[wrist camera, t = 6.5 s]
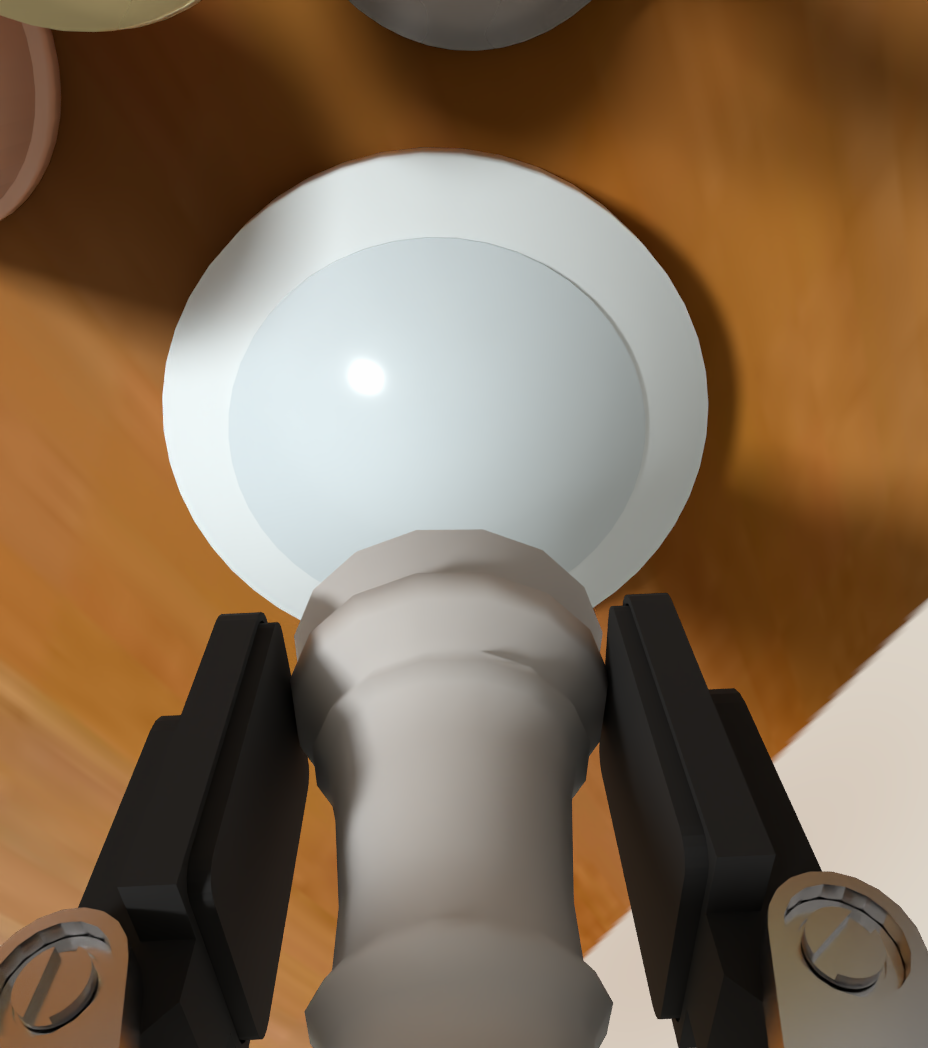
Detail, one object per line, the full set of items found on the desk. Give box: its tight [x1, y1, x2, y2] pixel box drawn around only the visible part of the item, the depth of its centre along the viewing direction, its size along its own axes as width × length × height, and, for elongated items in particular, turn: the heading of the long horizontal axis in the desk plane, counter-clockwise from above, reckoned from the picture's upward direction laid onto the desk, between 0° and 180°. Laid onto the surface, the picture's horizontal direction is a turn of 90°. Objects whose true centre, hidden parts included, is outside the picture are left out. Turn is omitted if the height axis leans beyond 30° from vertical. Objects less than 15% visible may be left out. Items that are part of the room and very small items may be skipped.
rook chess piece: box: [290, 529, 613, 1048], centre depth 9 cm, size 4×4×8 cm
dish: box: [162, 147, 708, 620], centre depth 17 cm, size 11×11×1 cm
